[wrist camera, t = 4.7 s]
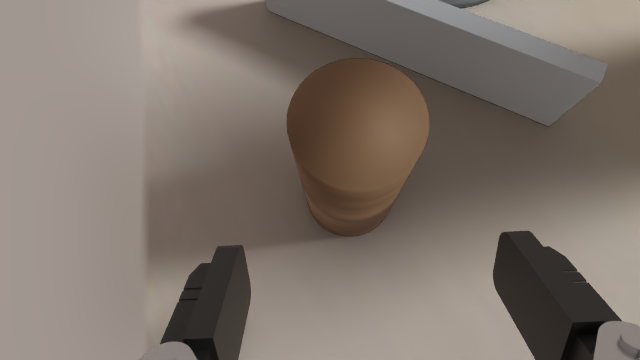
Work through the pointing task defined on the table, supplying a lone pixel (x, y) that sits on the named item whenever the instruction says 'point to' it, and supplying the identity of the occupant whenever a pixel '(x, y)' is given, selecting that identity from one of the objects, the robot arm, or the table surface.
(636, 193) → the table surface
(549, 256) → the robot arm
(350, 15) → the acrylic wall
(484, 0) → the mat
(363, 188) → the walnut pin
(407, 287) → the table surface
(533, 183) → the table surface
